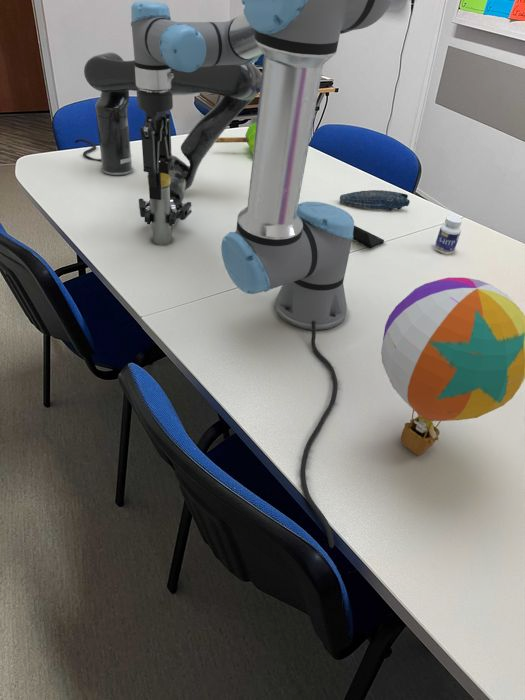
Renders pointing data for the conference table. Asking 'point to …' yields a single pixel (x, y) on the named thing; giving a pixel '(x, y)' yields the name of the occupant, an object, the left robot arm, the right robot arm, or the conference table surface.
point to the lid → (164, 180)
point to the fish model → (376, 199)
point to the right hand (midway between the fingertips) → (159, 193)
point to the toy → (453, 354)
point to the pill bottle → (448, 235)
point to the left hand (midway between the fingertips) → (159, 221)
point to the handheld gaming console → (366, 238)
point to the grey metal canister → (161, 218)
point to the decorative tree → (249, 137)
